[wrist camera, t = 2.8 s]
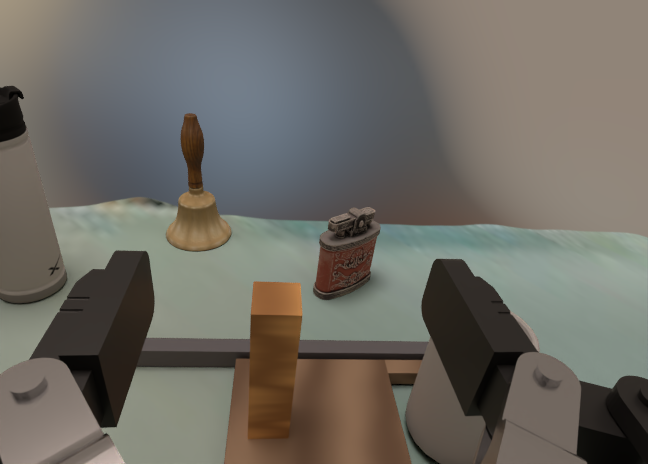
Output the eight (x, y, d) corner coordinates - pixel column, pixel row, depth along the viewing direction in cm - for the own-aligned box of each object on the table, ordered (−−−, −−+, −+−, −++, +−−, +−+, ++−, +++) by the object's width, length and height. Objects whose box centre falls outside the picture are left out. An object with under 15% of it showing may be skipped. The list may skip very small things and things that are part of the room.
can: (391, 445, 34) (427, 340, 27) (417, 379, 40) (451, 280, 33) (485, 495, 31) (549, 392, 25) (498, 417, 37) (552, 317, 31)
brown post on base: (486, 371, 41) (541, 254, 34) (552, 503, 31) (651, 379, 24) (236, 369, 38) (236, 241, 31) (220, 517, 28) (214, 378, 21)
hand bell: (164, 253, 52) (150, 127, 43) (167, 218, 58) (155, 102, 50) (233, 249, 54) (233, 128, 45) (228, 216, 61) (227, 105, 52)
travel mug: (80, 285, 45) (32, 97, 35) (8, 313, 41) (-72, 108, 30) (57, 258, 49) (8, 79, 38) (-11, 281, 44) (-89, 86, 34)
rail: (495, 356, 43) (502, 342, 42) (592, 534, 30) (605, 521, 29) (103, 352, 38) (99, 337, 37) (7, 564, 25) (-3, 549, 24)
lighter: (357, 266, 54) (370, 196, 49) (375, 280, 52) (391, 209, 46) (306, 287, 49) (315, 213, 44) (325, 304, 47) (336, 228, 42)
